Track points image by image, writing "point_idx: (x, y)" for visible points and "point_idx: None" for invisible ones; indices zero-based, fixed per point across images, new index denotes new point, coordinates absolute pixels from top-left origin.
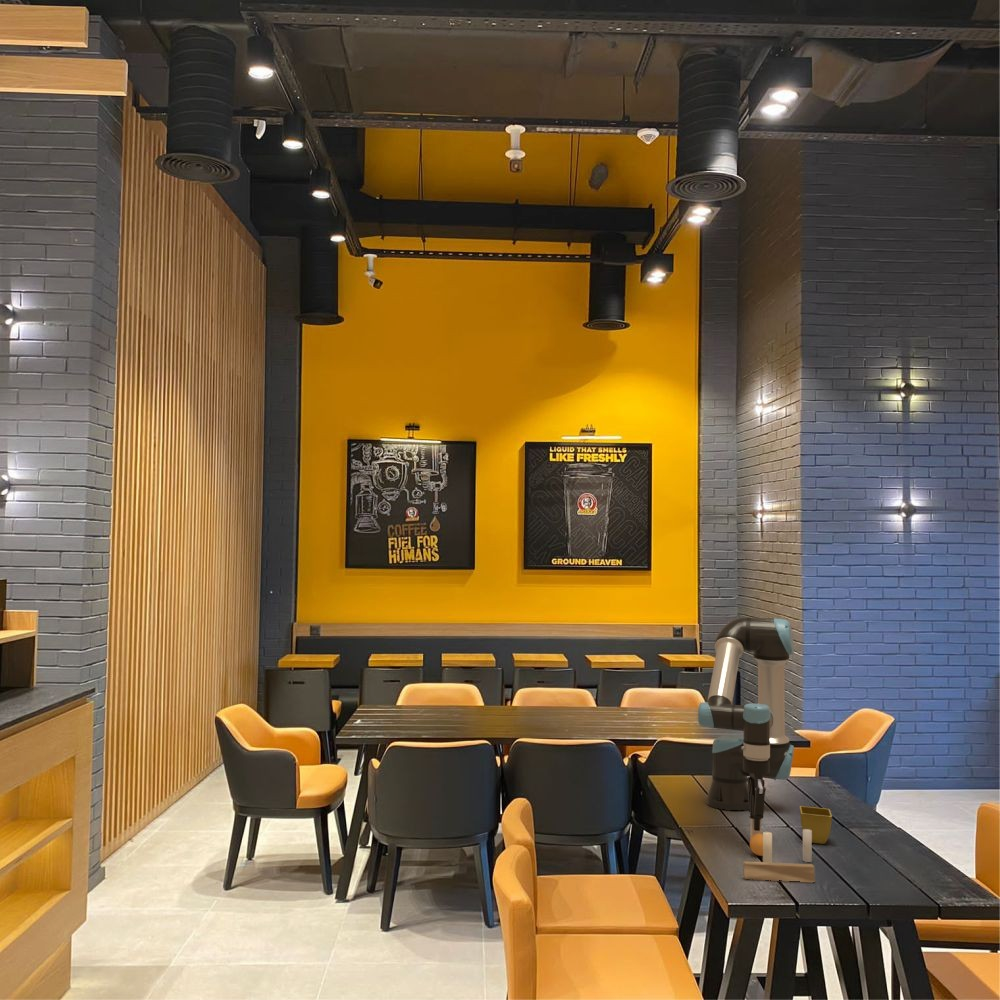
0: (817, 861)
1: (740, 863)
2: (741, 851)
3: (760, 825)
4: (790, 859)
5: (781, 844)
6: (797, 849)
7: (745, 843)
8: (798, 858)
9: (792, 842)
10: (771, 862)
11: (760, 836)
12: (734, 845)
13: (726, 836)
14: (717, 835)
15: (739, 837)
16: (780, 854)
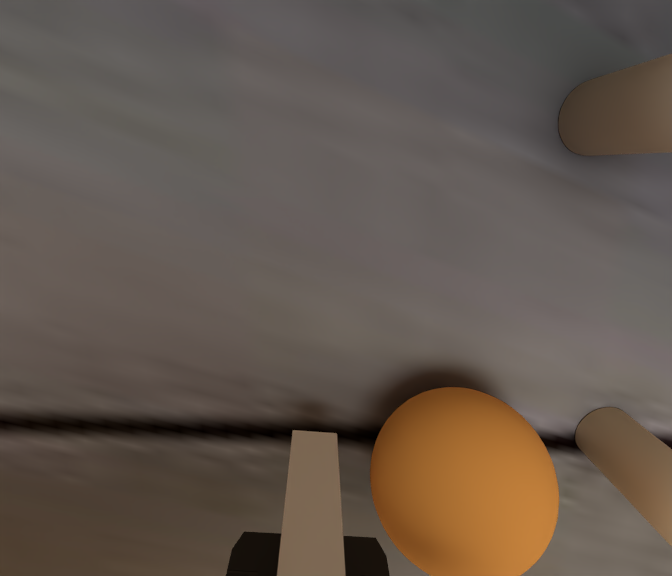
0: (610, 16)
1: (559, 563)
2: (346, 510)
3: (343, 568)
4: (531, 242)
5: (148, 173)
6: (281, 71)
7: (166, 446)
8: (516, 165)
9: (63, 30)
10: (640, 425)
11: (531, 559)
12: (223, 521)
13: (18, 524)
14: (10, 569)
15: (20, 449)
16: (413, 277)
